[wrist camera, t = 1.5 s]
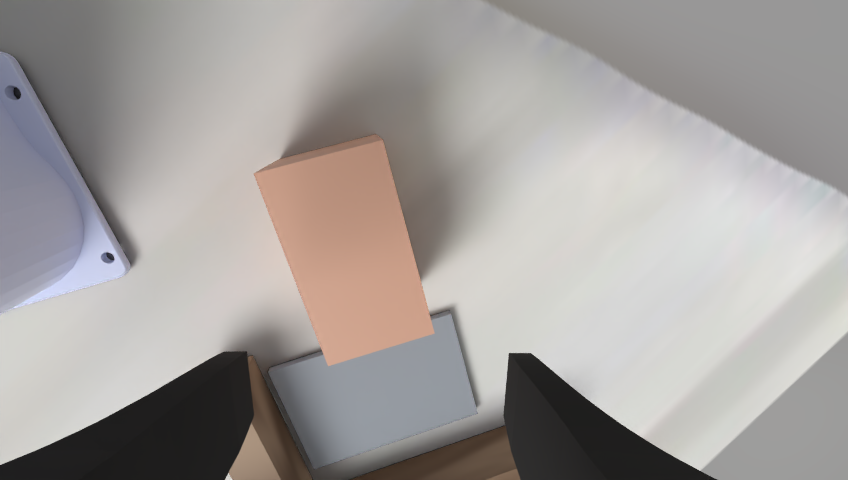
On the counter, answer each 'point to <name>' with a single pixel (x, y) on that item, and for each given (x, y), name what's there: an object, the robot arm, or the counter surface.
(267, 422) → the brown l-shaped piece
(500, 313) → the counter surface
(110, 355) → the counter surface
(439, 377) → the mat
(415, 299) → the block
